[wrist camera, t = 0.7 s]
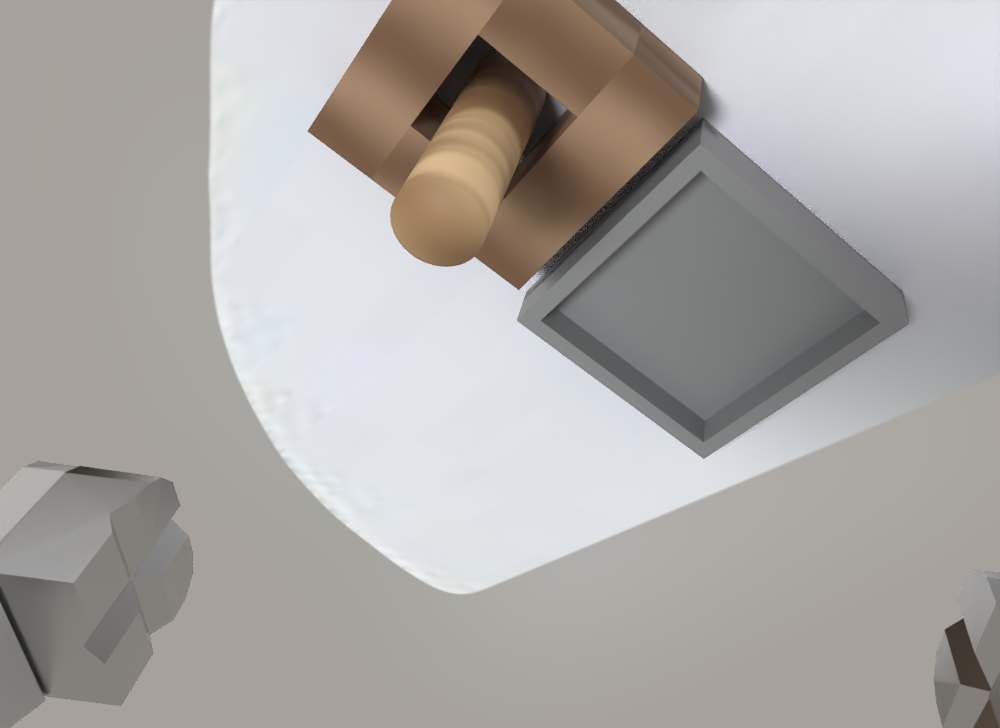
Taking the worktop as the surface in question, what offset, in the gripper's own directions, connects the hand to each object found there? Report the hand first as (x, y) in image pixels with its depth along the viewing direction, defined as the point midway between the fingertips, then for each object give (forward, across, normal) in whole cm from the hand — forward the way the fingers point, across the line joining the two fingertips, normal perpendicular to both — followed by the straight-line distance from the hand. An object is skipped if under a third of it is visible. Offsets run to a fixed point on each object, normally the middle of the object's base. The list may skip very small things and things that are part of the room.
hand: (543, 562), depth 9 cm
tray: (+40, -4, +18) cm, 45 cm away
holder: (+40, +7, +7) cm, 41 cm away
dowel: (+40, +7, +7) cm, 41 cm away
